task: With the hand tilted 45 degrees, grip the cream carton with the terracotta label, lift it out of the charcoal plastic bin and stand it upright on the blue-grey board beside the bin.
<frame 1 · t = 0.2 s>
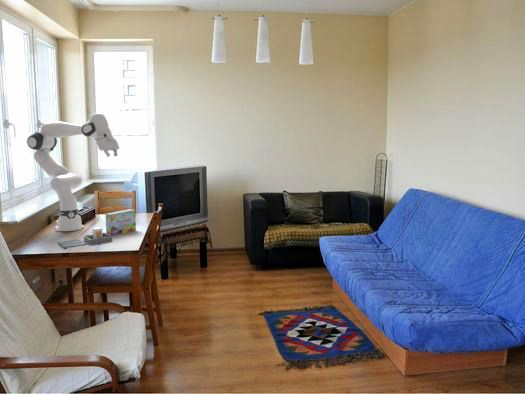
hand: (112, 156, 303), 52 cm above the table, tool tilted 20°, fingers open, 8 cm apart
parts bin: (98, 241, 283), on the table
blue-grey board: (71, 244, 277), on the table
snack box: (121, 233, 306), on the table
cream carton: (98, 240, 283), point 1 cm above the table, touching parts bin
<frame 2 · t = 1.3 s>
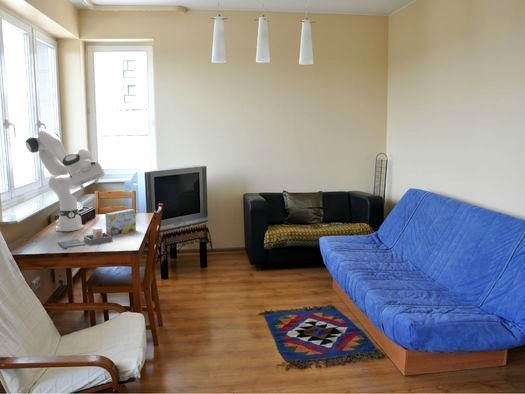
hand: (89, 185, 285), 35 cm above the table, tool tilted 45°, fingers open, 8 cm apart
nothing on the table moved.
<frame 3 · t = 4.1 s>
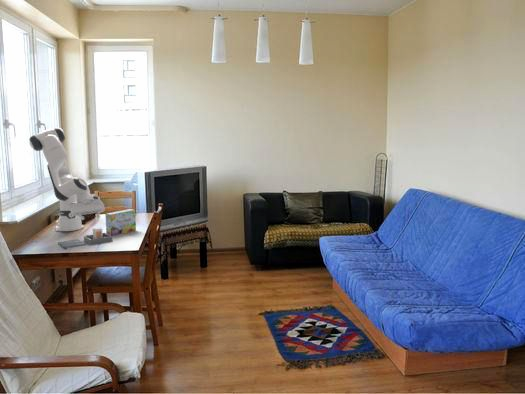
hand: (90, 218, 288), 14 cm above the table, tool tilted 45°, fingers open, 8 cm apart
nothing on the table moved.
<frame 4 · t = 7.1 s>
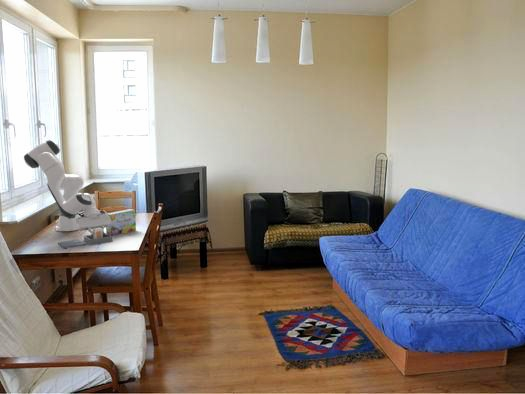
hand: (97, 233, 282), 5 cm above the table, tool tilted 45°, fingers closed on cream carton, 4 cm apart
cream carton: (98, 240, 283), point 1 cm above the table, touching gripper, parts bin
everything else where it was.
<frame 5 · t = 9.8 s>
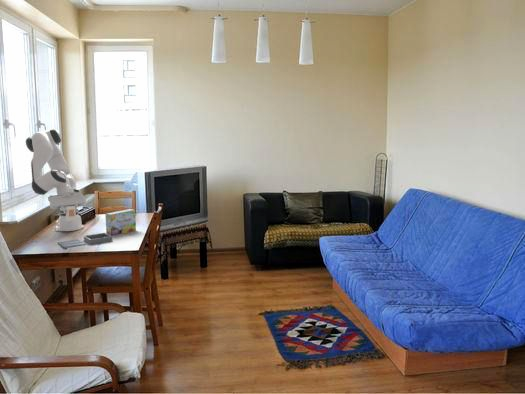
hand: (70, 212, 273), 20 cm above the table, tool tilted 45°, fingers closed on cream carton, 4 cm apart
cream carton: (71, 219, 274), point 16 cm above the table, touching gripper
everything else where it was.
when the fingers open (7 cm above the table, at t = 12.8 s): cream carton drops 2 cm, resting on blue-grey board.
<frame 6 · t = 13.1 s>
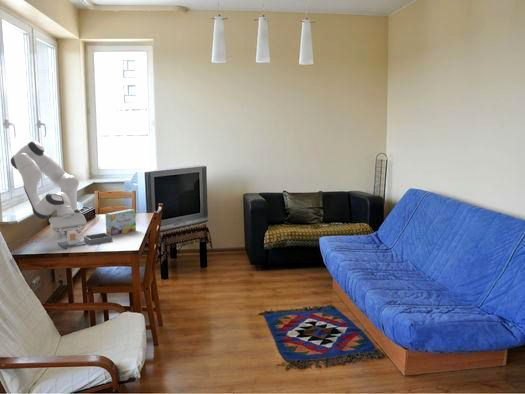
hand: (71, 233, 275), 7 cm above the table, tool tilted 45°, fingers open, 8 cm apart
cream carton: (72, 243, 276), point 1 cm above the table, touching blue-grey board
everything else where it was.
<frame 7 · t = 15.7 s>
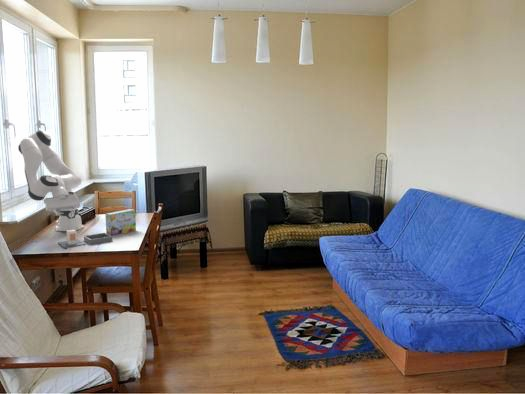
hand: (65, 213, 283), 18 cm above the table, tool tilted 45°, fingers open, 8 cm apart
nothing on the table moved.
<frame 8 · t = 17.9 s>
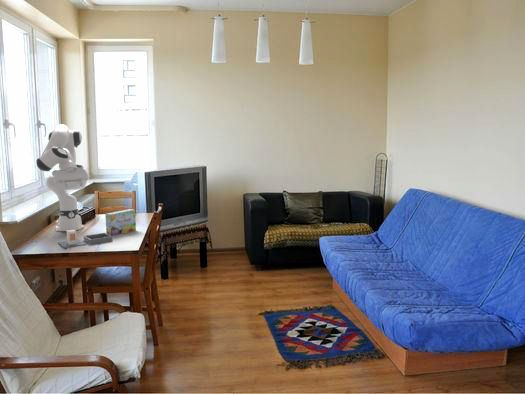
hand: (73, 186, 286), 34 cm above the table, tool tilted 45°, fingers open, 8 cm apart
nothing on the table moved.
at the end: cream carton inside the target area on the blue-grey board (1.1 cm from its centre), point 1.0 cm above the blue-grey board's base; cream carton tilted 0°; the gripper is holding nothing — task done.
